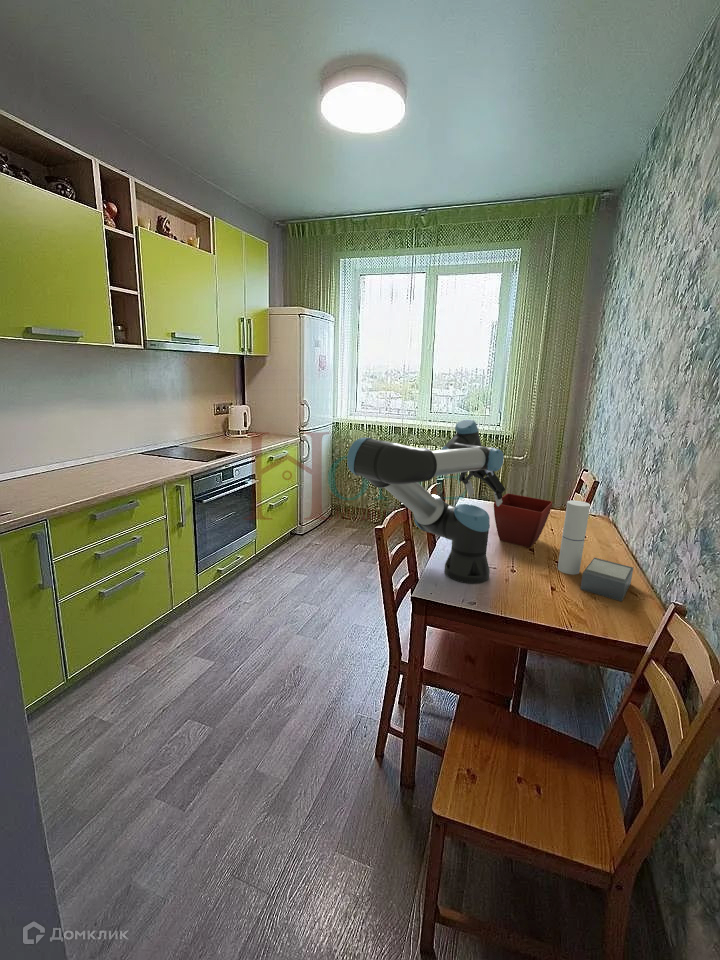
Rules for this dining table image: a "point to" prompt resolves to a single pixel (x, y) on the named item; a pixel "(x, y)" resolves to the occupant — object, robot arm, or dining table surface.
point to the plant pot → (521, 519)
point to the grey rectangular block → (607, 579)
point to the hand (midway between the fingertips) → (485, 499)
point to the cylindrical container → (573, 536)
